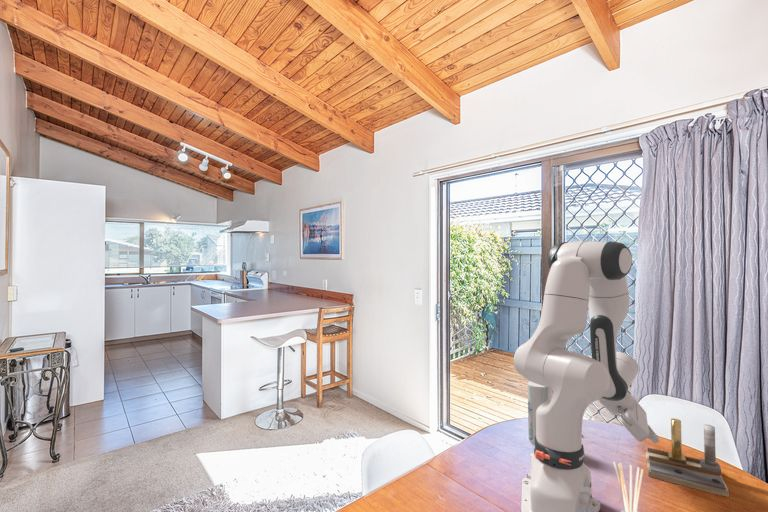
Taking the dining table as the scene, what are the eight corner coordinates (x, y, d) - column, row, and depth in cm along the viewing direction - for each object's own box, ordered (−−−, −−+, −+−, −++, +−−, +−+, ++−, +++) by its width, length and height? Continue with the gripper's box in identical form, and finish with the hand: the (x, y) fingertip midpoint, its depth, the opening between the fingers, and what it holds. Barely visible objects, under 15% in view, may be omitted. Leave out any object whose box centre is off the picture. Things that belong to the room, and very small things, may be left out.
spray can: (530, 435, 128) (529, 379, 128) (549, 440, 125) (549, 382, 125) (526, 443, 123) (525, 385, 123) (547, 448, 119) (546, 388, 120)
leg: (686, 465, 105) (685, 424, 106) (669, 461, 108) (668, 421, 108) (684, 459, 109) (683, 419, 109) (667, 455, 111) (666, 416, 111)
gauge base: (728, 497, 94) (727, 443, 94) (648, 476, 104) (647, 427, 104) (716, 471, 106) (715, 423, 106) (645, 454, 115) (645, 410, 115)
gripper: (627, 407, 106) (669, 450, 101) (626, 387, 123) (662, 422, 118) (609, 418, 109) (650, 461, 103) (611, 397, 126) (646, 432, 120)
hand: (656, 440), depth 111 cm, fingers closed
